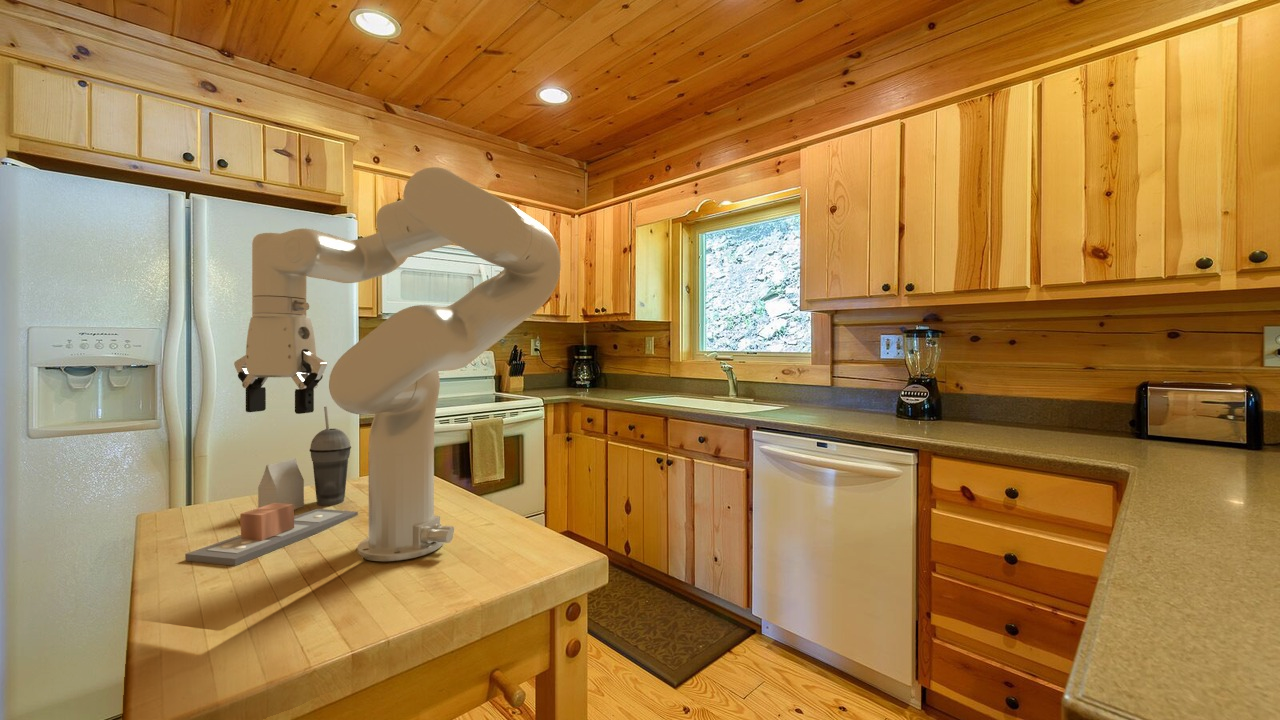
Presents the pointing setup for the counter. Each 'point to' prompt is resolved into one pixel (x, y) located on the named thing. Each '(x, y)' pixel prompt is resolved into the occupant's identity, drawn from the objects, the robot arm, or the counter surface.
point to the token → (267, 521)
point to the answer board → (269, 539)
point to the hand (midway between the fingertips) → (279, 412)
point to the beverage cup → (330, 464)
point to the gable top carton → (282, 485)
